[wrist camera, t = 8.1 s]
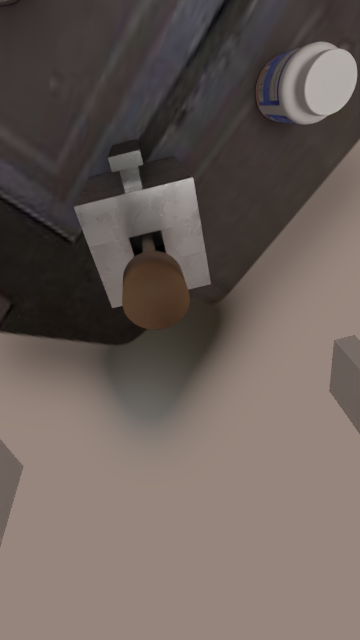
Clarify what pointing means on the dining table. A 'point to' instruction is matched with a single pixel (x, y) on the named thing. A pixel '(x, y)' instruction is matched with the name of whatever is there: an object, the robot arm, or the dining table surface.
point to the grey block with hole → (141, 216)
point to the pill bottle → (306, 83)
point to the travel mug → (7, 2)
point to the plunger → (153, 285)
